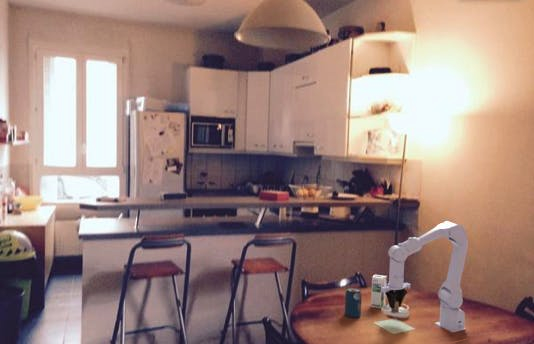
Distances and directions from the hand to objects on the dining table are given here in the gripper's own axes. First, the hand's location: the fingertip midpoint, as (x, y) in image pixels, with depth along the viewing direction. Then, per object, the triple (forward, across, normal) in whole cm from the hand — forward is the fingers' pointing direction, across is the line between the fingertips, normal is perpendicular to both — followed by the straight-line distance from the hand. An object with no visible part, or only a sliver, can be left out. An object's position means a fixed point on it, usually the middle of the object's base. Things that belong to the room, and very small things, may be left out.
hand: (395, 307), depth 180 cm
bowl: (+8, -11, -9) cm, 16 cm away
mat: (+8, 0, 0) cm, 8 cm away
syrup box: (+9, -10, -21) cm, 25 cm away
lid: (+2, 0, 0) cm, 2 cm away
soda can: (+8, +9, -16) cm, 20 cm away
